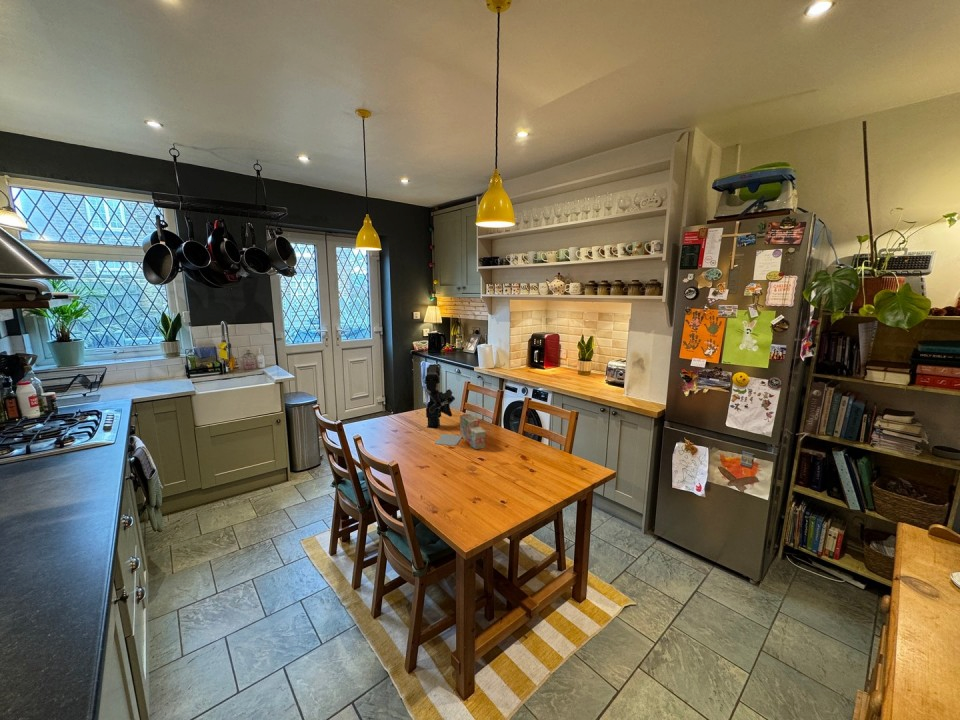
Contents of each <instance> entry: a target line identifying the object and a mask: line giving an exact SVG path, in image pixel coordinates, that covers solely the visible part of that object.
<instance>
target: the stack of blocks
mask: <svg viewBox="0 0 960 720" xmlns="http://www.w3.org/2000/svg"><path fill="white" fill-rule="evenodd" d="M486 434H487V433H486V430H484V428H482V427H481V426H480V421H479V419H477V418H476V417H475V416H473V415H472V414H471V413H467V414H466V413H465V414H460V416H459V435H460V436H461V437H462V438H463V440H464V441H465V442H466V443H468V444H469V445H470V446H471V447H472V448H473V449H474V450H478V449H484V448H486V436H487V435H486ZM462 438H461V439H462Z"/></svg>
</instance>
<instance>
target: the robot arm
mask: <svg viewBox="0 0 960 720" xmlns="http://www.w3.org/2000/svg"><path fill="white" fill-rule="evenodd" d="M440 376H441V368H440V367H439V366H438V364H428V367H426V374H425V376H424V377H425V378H424V384H425V392H426V393H427V395H429V401H428V402H427V405H426V409H425V415H426V417H425V418H426V419H427V425H426V428H429V429H437V428H439V427H440V425H441V417H442V413H443V414H445V415H446V416H448V417H452V416H453V414H452V411H451V408H450V405H451V404H452V403H453V402H454V401H455V400H456V398H455V396H453V391H452V390H451V389H447V390H445V392H442V391H439V389H438V388H437V385H439V384H440V381H441V378H440Z"/></svg>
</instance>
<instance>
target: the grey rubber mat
mask: <svg viewBox="0 0 960 720" xmlns="http://www.w3.org/2000/svg"><path fill="white" fill-rule="evenodd" d="M461 440H462V437H461V436H460V434H459V435H458V434H450V433H449V434H448V433H442V434H441V435H440V436H439V438H438V439H437V440H436V441H435V442H434V444H435V445H441V444H442V445H443V446H452V447H454V446H455V447H456V446H457V445H458V444H459V442H460V441H461Z"/></svg>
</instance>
